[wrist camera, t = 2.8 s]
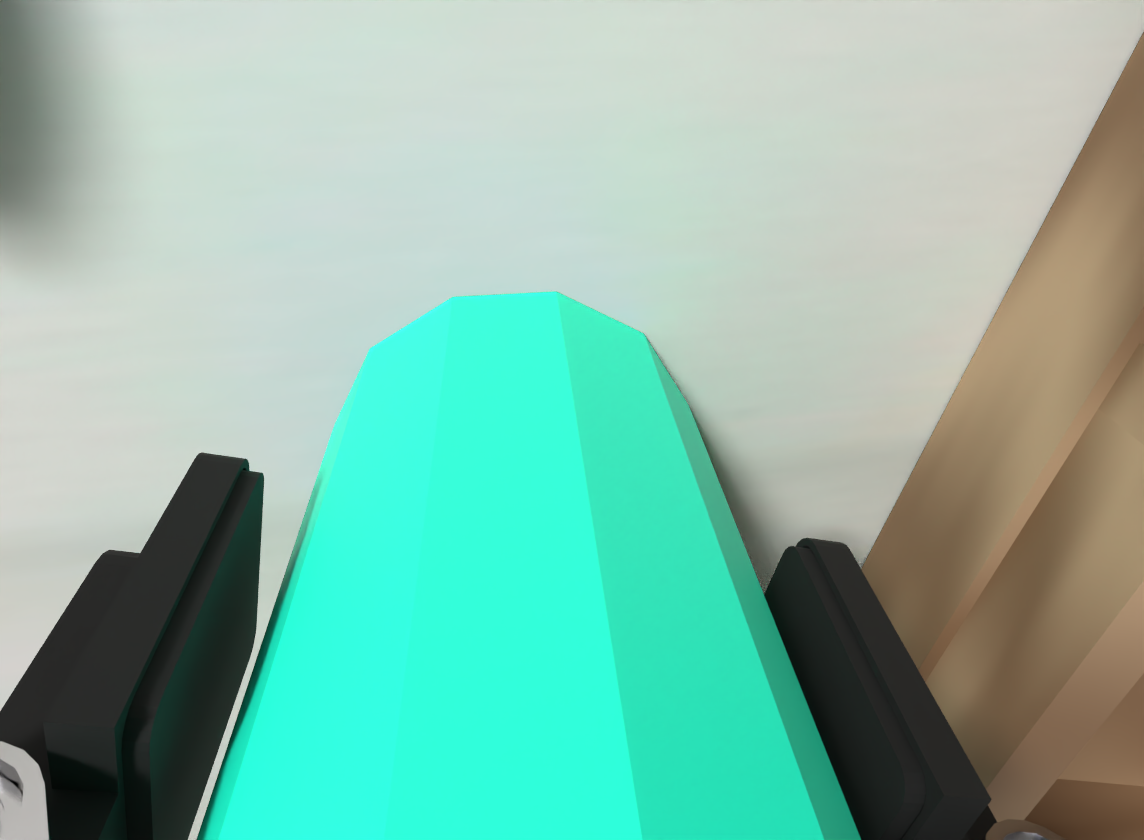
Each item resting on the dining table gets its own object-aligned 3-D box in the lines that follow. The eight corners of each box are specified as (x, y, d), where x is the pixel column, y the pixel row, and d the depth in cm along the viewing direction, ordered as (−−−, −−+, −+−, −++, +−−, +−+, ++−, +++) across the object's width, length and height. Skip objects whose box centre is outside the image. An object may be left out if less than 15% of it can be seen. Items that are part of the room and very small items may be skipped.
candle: (764, 439, 14) (1491, 1844, 4) (529, 636, 16) (582, 1910, 6) (498, 205, 12) (490, 2370, 1) (260, 470, 14) (-489, 2167, 3)
